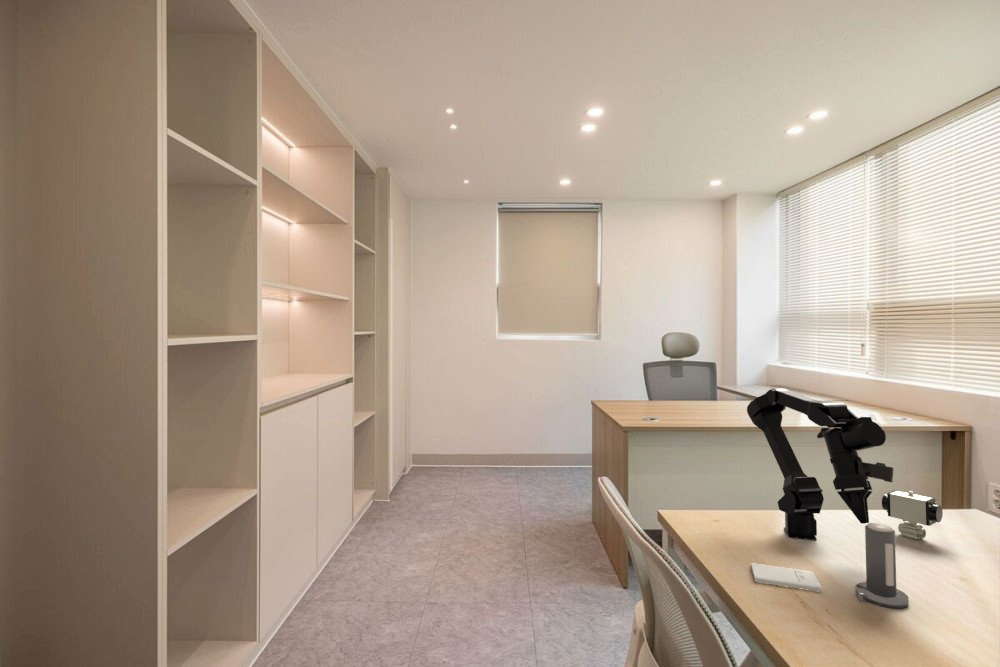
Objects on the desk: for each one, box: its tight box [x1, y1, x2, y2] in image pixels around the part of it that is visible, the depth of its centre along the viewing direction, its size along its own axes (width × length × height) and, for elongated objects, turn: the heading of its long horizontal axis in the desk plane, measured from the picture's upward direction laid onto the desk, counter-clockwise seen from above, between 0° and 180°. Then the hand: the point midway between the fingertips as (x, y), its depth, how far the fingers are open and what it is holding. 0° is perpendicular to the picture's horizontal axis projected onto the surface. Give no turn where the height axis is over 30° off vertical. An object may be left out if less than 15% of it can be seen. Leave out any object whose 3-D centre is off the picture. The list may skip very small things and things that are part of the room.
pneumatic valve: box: [881, 490, 944, 541], centre depth 131 cm, size 6×12×12 cm, turn 32°
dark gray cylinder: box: [864, 522, 897, 597], centre depth 100 cm, size 5×5×13 cm
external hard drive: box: [750, 562, 823, 593], centre depth 108 cm, size 2×8×12 cm
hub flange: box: [855, 581, 910, 610], centre depth 100 cm, size 9×8×1 cm
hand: (865, 523), depth 113 cm, fingers open, 9 cm apart
